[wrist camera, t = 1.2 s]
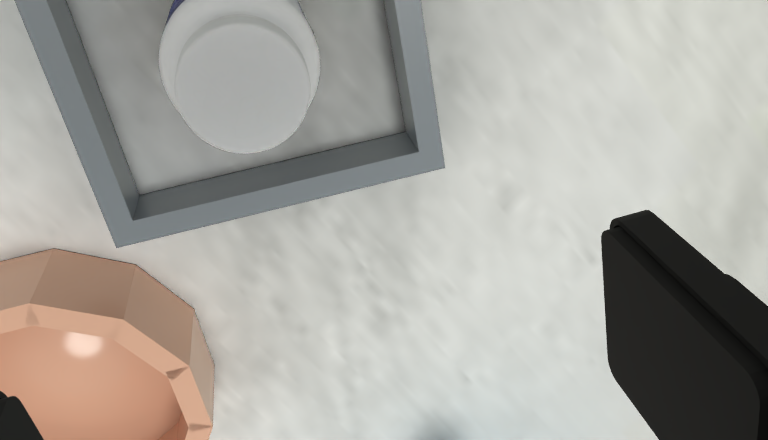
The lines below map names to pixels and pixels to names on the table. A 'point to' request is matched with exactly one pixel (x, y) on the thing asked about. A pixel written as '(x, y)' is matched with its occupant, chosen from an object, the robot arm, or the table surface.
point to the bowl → (102, 351)
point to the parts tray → (245, 188)
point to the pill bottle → (239, 70)
